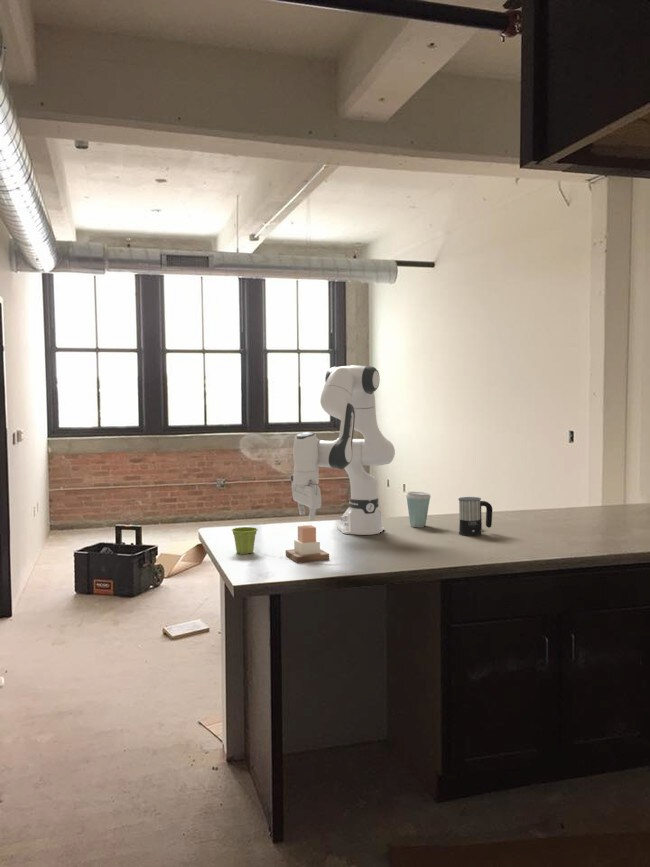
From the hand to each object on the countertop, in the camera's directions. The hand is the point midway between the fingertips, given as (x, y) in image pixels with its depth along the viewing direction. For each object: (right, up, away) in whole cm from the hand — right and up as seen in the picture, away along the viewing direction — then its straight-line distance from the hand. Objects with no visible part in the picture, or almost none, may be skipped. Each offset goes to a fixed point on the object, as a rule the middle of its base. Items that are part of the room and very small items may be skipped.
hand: (306, 517), depth 248 cm
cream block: (0, -12, 0) cm, 12 cm away
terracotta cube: (0, -8, 0) cm, 8 cm away
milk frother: (+67, -12, +43) cm, 80 cm away
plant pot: (-23, -14, +9) cm, 29 cm away
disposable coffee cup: (+47, -11, +57) cm, 75 cm away
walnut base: (0, -14, 0) cm, 14 cm away
